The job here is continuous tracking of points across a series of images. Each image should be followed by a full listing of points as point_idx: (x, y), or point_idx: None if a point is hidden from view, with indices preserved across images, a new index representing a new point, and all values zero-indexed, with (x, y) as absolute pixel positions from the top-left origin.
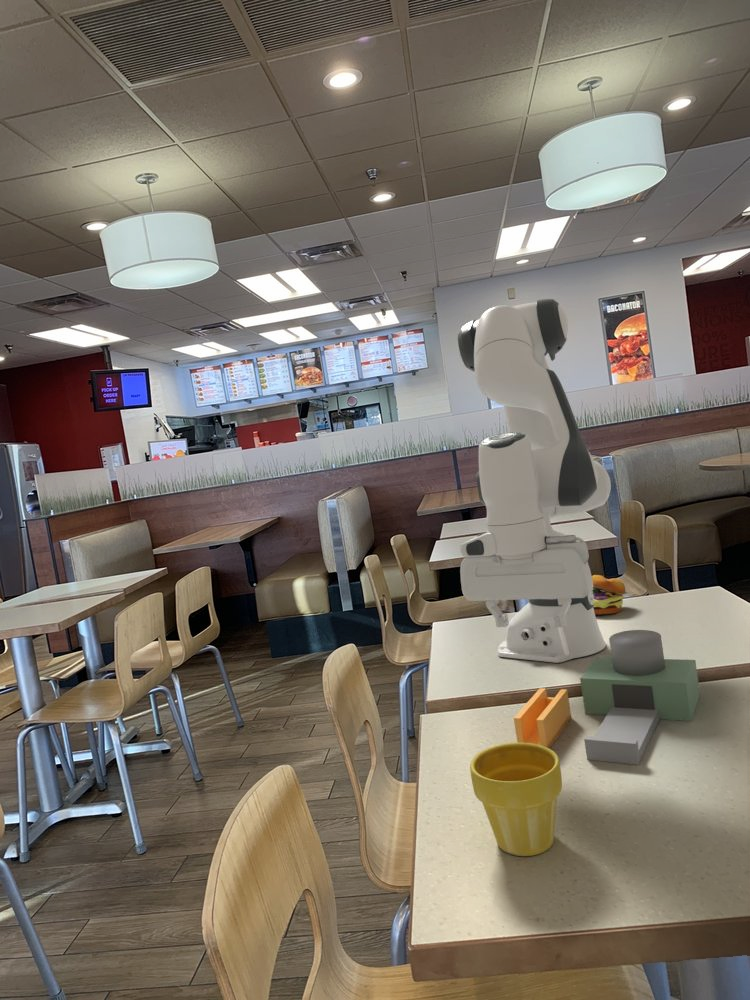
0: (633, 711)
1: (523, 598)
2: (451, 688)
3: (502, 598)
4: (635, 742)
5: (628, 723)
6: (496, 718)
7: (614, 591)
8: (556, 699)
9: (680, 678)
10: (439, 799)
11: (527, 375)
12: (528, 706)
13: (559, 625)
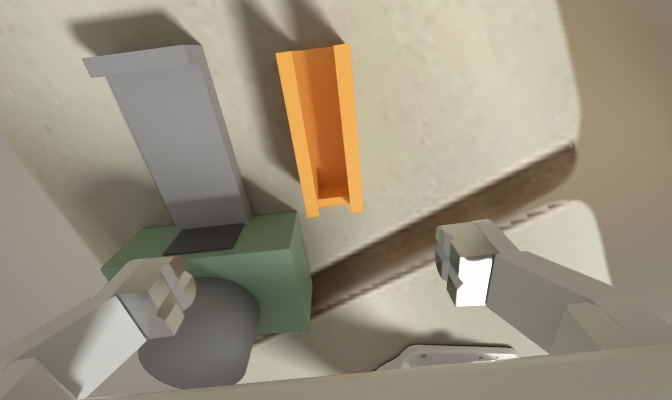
0: (208, 216)
1: (260, 387)
2: (565, 240)
3: (511, 369)
4: (85, 64)
5: (188, 174)
6: (439, 154)
7: None
8: (304, 169)
9: None
10: None
11: None
12: (345, 119)
13: (147, 258)
